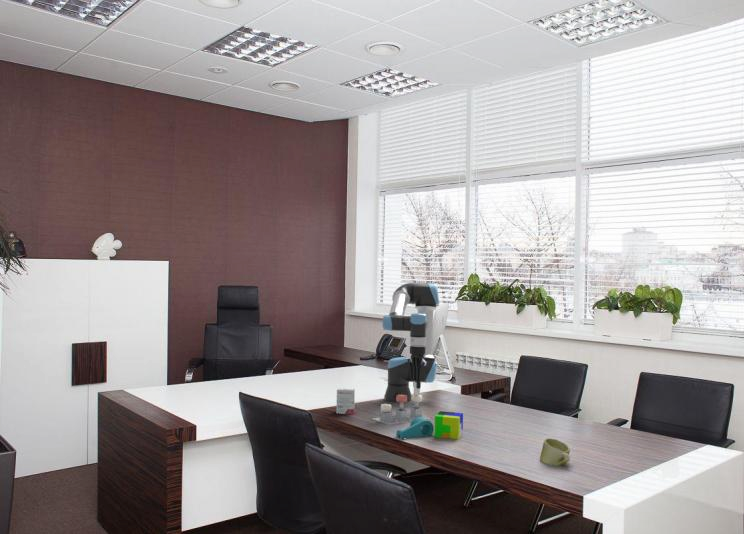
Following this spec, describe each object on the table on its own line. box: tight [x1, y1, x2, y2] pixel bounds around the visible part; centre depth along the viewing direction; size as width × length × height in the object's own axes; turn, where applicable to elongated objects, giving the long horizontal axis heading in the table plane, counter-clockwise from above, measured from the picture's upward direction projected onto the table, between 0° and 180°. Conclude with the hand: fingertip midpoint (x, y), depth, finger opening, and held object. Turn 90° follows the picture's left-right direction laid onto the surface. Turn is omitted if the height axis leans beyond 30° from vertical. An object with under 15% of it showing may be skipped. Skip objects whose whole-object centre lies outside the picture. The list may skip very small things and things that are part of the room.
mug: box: [539, 437, 571, 466], centre depth 225 cm, size 12×10×10 cm
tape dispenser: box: [395, 417, 435, 440], centre depth 262 cm, size 7×15×8 cm, turn 115°
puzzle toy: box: [434, 410, 464, 440], centre depth 263 cm, size 10×10×10 cm
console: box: [372, 406, 431, 426], centre depth 292 cm, size 24×13×5 cm, turn 125°
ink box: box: [335, 388, 356, 415], centre depth 304 cm, size 9×5×12 cm, turn 84°
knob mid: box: [396, 395, 408, 410], centre depth 292 cm, size 5×5×7 cm
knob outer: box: [380, 403, 393, 413], centre depth 286 cm, size 5×5×7 cm
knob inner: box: [410, 394, 423, 408], centre depth 297 cm, size 5×5×7 cm
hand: (416, 394), depth 297 cm, fingers closed, pressing on knob inner
